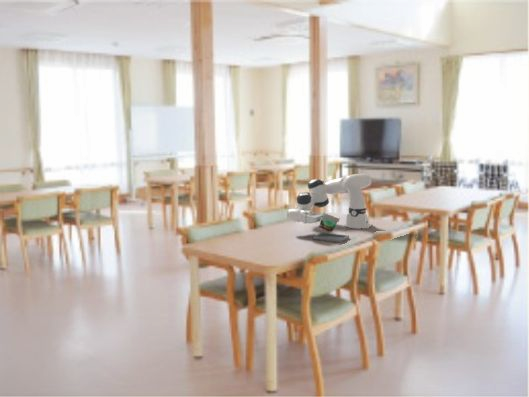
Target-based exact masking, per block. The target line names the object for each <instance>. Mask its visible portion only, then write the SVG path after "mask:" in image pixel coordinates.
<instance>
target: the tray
mask: <svg viewBox="0 0 529 397" xmlns="http://www.w3.org/2000/svg"><path fill="white" fill-rule="evenodd" d="M312 240H314V241H315V240H317V241H323V242H330V243H338V244H340V243H343V242H346V241H347V240H350V235H347V234H346V235H345V234H339V233H332V232H331V233H329V232H321V233H318V234H316V235H313V236H312Z"/></svg>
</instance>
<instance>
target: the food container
mask: <svg viewBox="0 0 529 397" xmlns="http://www.w3.org/2000/svg"><path fill="white" fill-rule="evenodd" d="M321 213H322V217H323V219H322V221H319V226H318V227H319V228H320V229H322V230H323V231H326V232H328V233H329V232H331V233H332V232H333V230H334V229H335V227H336V226H337V223H338V222H340V217H335V216H333V215H331V214H328V213H327V214H328V215H327V214H325V213H326V212H321Z"/></svg>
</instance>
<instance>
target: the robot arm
mask: <svg viewBox="0 0 529 397" xmlns="http://www.w3.org/2000/svg"><path fill="white" fill-rule="evenodd" d="M372 182H373V181H372V177H371V176H370V175H369V174H367V173H364V172H363V173H354V174H352V173H351V174H349V175H347V176H343V177H337V178H333V179H329V180H328V181H326V182H324V180H321V179H319V178H315V179H311V180H310V181H309V182H308V183H307V188H308V190H309V191H307V192H305V191H303V192H302V193H300V194H298V195H297V196H296V206H297V208H290V209H288V210H287V215H286V216H287V219H288V221H291V222H294V223H296V222H297V223H303V224H317V223H320V222H321V221H322V219H323V217H322V213H323V212H315V211H314V210H312V209H313V208H314V207H316V208H324V207H326V206H328V204H329V203H330V199H329V198H328V195H335V194H343V193H347V192H348V196H349V205H348V206H349V207H348V214H346V221H345V224H344V227H346V228H349V229H357V230H359V229H361V228H362V229H370V228H371V226H372V225H371V224H372V223H370V221H369V220H370V219H369V218H370V217H369V216H368V214H367V212H366V211H367V210H368V209H367V207H366V197H365V195H363V194H364V193H363V192H362V189H366V188H368V187H371V185H372ZM324 213H325V214H327V215H329V213H327V212H324ZM369 227H370V228H369Z"/></svg>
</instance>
